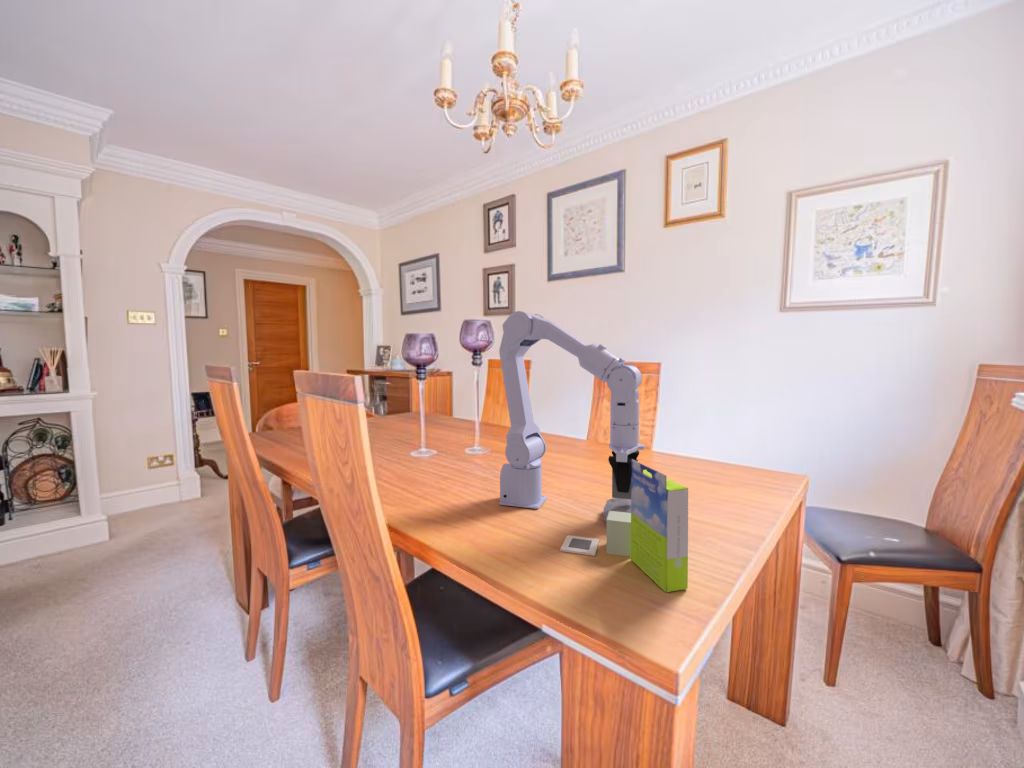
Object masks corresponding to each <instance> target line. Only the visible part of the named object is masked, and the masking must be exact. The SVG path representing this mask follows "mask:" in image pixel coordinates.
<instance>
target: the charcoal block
mask: <svg viewBox="0 0 1024 768" xmlns="http://www.w3.org/2000/svg"><path fill="white" fill-rule="evenodd" d="M611 472H612V473H611V499H613V498H620V499H631V490H632V477H631V483H630V488H629V492H628V493H625V492H618V490H617V487H616V481H615V476H614V472H613V469H612V468H611Z"/></svg>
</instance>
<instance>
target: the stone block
mask: <svg viewBox="0 0 1024 768" xmlns="http://www.w3.org/2000/svg"><path fill="white" fill-rule="evenodd" d="M609 511H617V512H626V513H631V499H620V498H610V499H608V500H606V503H605V505H604V507H603V511H602V515H603V518H604V522H605V524H606V525H607V517H608V513H609Z"/></svg>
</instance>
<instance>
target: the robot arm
mask: <svg viewBox="0 0 1024 768" xmlns="http://www.w3.org/2000/svg"><path fill="white" fill-rule="evenodd" d="M502 331H503V334H502V337H501V342H500V346H499V352H498V353H499V359H500V364H501V371H502V379H503V383H504V389H505V390H504V391H505V395H506V396H505V398H506V403H507V410H508V415H509V423H510V427H509V429H508V430H507V433H506V436H505V437H506V439H505V440H506V445H505V450H504V455H505V457H506V460H507V462H508V463H504V464H503V465H502V467H500V469H501V470H500V475H499V490H500V491H499V497H500V498H499V503H498V504H499V505H500V506H509V507H516V508H517V507H518V508H524V509H525V508H526V509H535V510H539V508H540V507H541V506H542V505H543V504H544V502H545V501H546V500H547V495H543V492H542V489H543V487H542V483H543V479H542V476H543V475H542V472H543V471H542V469H543V467H542V457H543V456H544V455H545V454H546V450H547V444H546V442H545V439H544V438H543V437H542V434H541V430H540V429H541V428H540V427H539V426H538V425H537V424H536V422H535V421H534V415H533V410H532V409H533V408H532V402H531V397H530V391H529V385H528V384H529V383H528V378H527V371H526V365H525V359H524V356H525V355H526V353H527V352H528V351H529V350H530V348H531V347H532V346H534V345H535V344H536V343H538V342H539V341H541V340H547V341H549V342H552V343H553V344H555V345H556V346H558V347H560V348H561V349H563V350H565V351H566V352H568V353H569V354H571V355H573V356H575V357H577V358H578V364H579V366H580V367H581V368H583V369H584V370H585V371H587V372H589V373H590V374H591V375H593V376H595V377H596V379H599V380H600V381H601V382H604V383H606V385H607V388H608V389H609V391H610V406H609V408H610V410H609V411H610V413H609V414H610V415H609V416H610V417H609V419H610V423H609V425H610V429H609V430H610V432H609V433H610V435H609V436H610V438H609V439H610V441H609V444H608V448H609V449H610V450H611V454H612V455H610V456H608V459H607V461H608V463H609V465H610V467H611V470H612V469H613V472H614V476H615V481H616V487H617V490H618V492H625V493H628V492H629V488H630V483H631V477H632V465H631V459H633V460H635V461H637V462H639V459H638V457H639V455H640V451H639V450H642V451H644V450H645V449H646V447H645V444H641V443H640V441H639V439H640V400H639V397H640V393H639V392H640V391H639V388H640V386H641V384H642V380H643V377H642V376H643V375H642V372H641V371H640V369H638V367H636V366H635V365H634V364H632V363H625V362H626V359H625V358H623V357H617V356H615V355H614V354H612V353H611V352H609V351H608V350H606V349H607V346H605V345H604V344H602V343H601V344H599V345H598V344H597V343H592V344H588V345H587V344H585V342H583V341H582V340H580V339H578V338H577V337H576V336H575V335H573V334H571V333H570V332H568V331H567V330H566V329H564V328H563V327H561V326H560V325H559V324H557V323H556V322H555V321H552V320H551V319H548V318H545V317H544V316H543V315H540V314H538V313H534V314H533V313H528V312H525V311H520V310H517V311H514V312H511V314H509V316H508V317H507V318H506V320H504V322H503V323H502Z"/></svg>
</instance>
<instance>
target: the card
mask: <svg viewBox="0 0 1024 768" xmlns="http://www.w3.org/2000/svg"><path fill="white" fill-rule="evenodd" d="M599 544H600V539H599V538H594V537H593V538H592V537H584V536H577V535H570V534H569V535H566V537H565V539H564V541H563V542H562V544H561V547H560V550H559V551H560V552H564V553H572V554H576V555H577V554H579V555H584V556H585V555H586V556H593V557H595V556H596V553H597V551H598V550H597V549H598V547H599Z"/></svg>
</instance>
